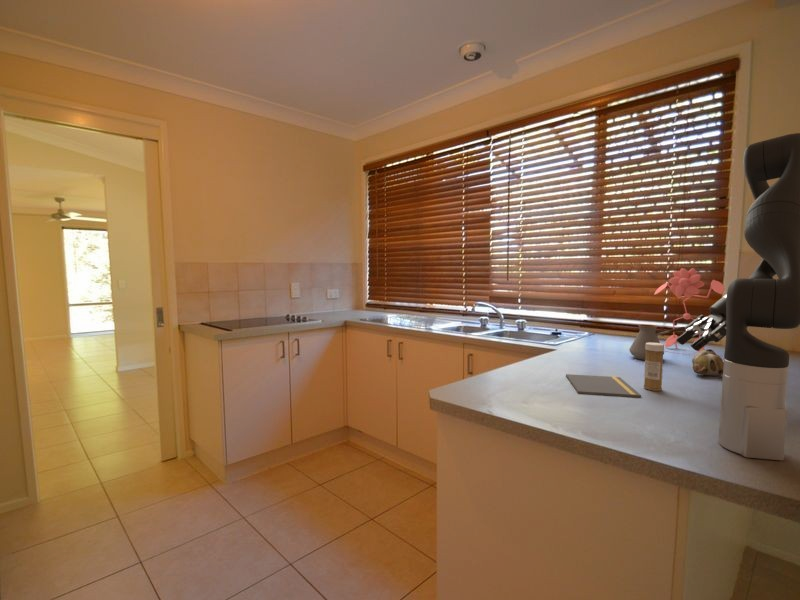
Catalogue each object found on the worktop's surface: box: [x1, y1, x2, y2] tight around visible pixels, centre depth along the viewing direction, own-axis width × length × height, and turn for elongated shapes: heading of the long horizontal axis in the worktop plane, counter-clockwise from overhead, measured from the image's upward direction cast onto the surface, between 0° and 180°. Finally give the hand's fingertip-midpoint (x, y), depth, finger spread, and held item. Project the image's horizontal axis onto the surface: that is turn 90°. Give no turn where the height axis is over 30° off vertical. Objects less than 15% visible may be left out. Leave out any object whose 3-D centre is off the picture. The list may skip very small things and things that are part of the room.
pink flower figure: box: [653, 267, 725, 356], centre depth 164 cm, size 15×26×35 cm, turn 31°
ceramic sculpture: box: [691, 348, 724, 376], centre depth 130 cm, size 11×9×15 cm
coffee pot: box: [628, 324, 693, 361], centre depth 148 cm, size 21×12×15 cm, turn 40°
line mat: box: [565, 373, 642, 398], centre depth 118 cm, size 18×16×1 cm
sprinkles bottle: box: [643, 342, 665, 392], centre depth 114 cm, size 5×5×13 cm
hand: (685, 345), depth 112 cm, fingers open, 8 cm apart
